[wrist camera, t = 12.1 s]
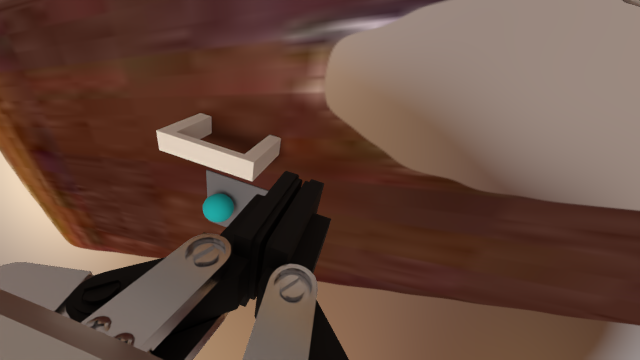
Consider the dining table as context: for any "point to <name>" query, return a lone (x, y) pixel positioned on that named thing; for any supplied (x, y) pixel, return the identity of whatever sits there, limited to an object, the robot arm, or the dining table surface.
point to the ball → (218, 207)
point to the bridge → (215, 148)
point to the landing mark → (232, 192)
